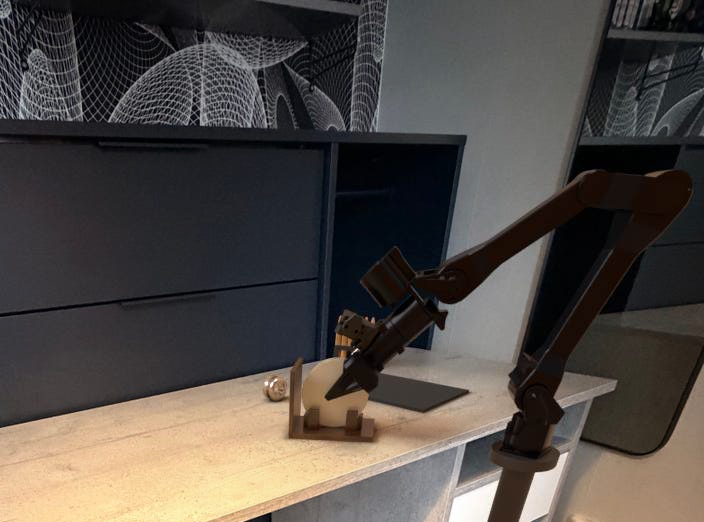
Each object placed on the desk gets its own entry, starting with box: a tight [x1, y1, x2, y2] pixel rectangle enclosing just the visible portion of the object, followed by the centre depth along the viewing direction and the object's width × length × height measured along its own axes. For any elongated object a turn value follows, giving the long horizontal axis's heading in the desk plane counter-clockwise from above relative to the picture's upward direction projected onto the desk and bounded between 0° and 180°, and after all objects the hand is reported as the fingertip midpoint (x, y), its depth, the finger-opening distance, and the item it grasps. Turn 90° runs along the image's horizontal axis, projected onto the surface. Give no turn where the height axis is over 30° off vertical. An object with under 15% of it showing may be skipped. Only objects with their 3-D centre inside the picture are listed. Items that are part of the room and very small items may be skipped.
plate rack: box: [287, 357, 376, 443], centre depth 93 cm, size 15×10×12 cm, turn 75°
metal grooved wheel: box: [262, 374, 288, 402], centre depth 113 cm, size 5×3×5 cm, turn 129°
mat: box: [368, 372, 470, 414], centre depth 114 cm, size 24×18×1 cm
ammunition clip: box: [332, 314, 376, 358], centre depth 131 cm, size 11×2×12 cm, turn 54°
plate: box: [301, 357, 369, 427], centre depth 93 cm, size 12×2×12 cm, turn 75°
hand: (327, 395), depth 93 cm, fingers open, 4 cm apart
